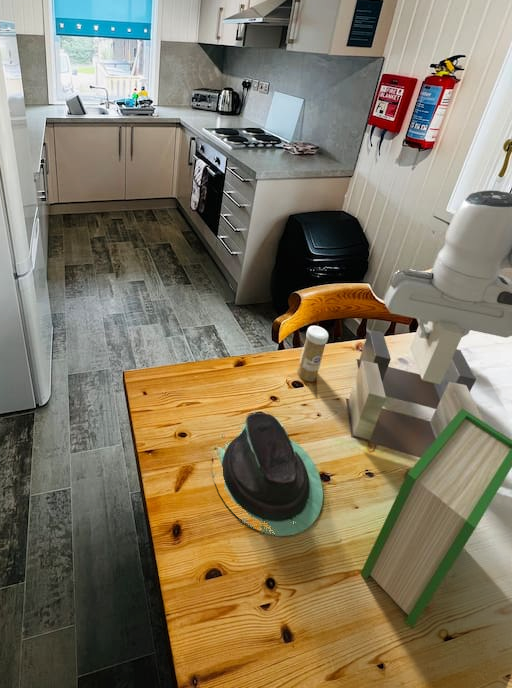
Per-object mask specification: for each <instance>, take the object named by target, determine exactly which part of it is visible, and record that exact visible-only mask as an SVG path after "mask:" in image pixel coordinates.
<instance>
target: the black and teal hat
mask: <svg viewBox="0 0 512 688" xmlns="http://www.w3.org/2000/svg"><path fill="white" fill-rule="evenodd" d="M244 423H245V425H240V426H241V427H242V428H243V429H242V428H241V429H242V433H241V432H239V434H240V435H239V436H237V437H236V438H235V439H234V440H232V442H231V443H230V442H229V443H230V444H229V443H228V445H227V444H225V445H226V446H225V447H226V448H227V449H226V450H224V449H223V450H222V448H221V447H218V446H217V447H218V450H219V451H220V452H219V453H220V455H219V454H218V455H219V456H220V457H221V459H220V458H219V457H218V456H217V454H216V453H215V454H216V457H217V458H219V459H220V460H219V461H220V462H221V465H222V467H223V477H224V480H225V481H224V482H225V486H226V487H225V488H224V490H225V489H227V491H229V493H228V494H230V496H231V498H232V499H231V500H234V502H236V504H239V505H238V506H241V507H242V509H244V510H246V512H247V513H248V514H249V515H251V517H254V518H256V519H258V520H259V521H262V522H263V523H264V521H265V523H268V524H267V525H269V526H271V527H270V528H271V530H273V531H274V533H275V534H274V533H272V532H273V531H270V532H271V534H272V535H271V534H270V532H269V530H270V529H268V528H267V531H266V527H265V529H264V526H261V528H262V530H261V531H263V530H264V531H263V532H265V533H263V532H261V533H263V534H266V535H270V536H274V535H275V537H283V536H284V537H285V536H294V535H297V534H300V533H302V532H304V531H305V530H307V529H308V528H310V527H311V526H312V525H313V524H314V522H315V521H316V520H317V518H318V517H319V514H320V513H321V510H322V507H323V501H324V489H323V484H322V480H321V476H320V473H319V470H318V468H317V466H316V464H315V462H314V460H313V459H312V458H311V457H310V455H309V454H308V452H306V451H305V450H304V448H302V447H301V445H300V444H298V443H297V442H295V441H294V440H293V439H291V438H290V437H289V434H288V433H287V430H286V428H285V426H284V425H283V424H282V422H281V421H280V420H279V419H278V418H276V417H275V416H274V415H272V414H270V413H269V414H268V413H264V412H258V411H253V413H251V414H249V415H248V416H245V421H244ZM225 434H226V433H224V434H222V436H223V437H224V435H225ZM227 442H228V441H227ZM216 452H217V451H216ZM212 455H213V454H212ZM213 456H214V455H213ZM222 457H223V458H222ZM214 473H215V474H214V475H216V472H214ZM219 473H221V472H219ZM227 491H226V492H227ZM242 519H243V518H242ZM242 519H241V520H242ZM241 520H240V521H241ZM244 520H245V518H244ZM244 520H243V521H244ZM243 521H241V522H242V523H243V524H245V522H246V520H245V521H244V522H243ZM293 521H294V524H293ZM262 522H261V523H262ZM295 522H296V523H295ZM248 523H249V522H248ZM249 525H250V524H249ZM249 525H247V526H249ZM262 525H263V524H262ZM251 526H252V524H251V525H250V526H249V527H250V528H252V527H251ZM269 526H268V527H269ZM253 527H254V526H253Z"/></svg>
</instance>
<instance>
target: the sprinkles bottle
mask: <svg viewBox="0 0 512 688" xmlns="http://www.w3.org/2000/svg"><path fill="white" fill-rule="evenodd" d="M305 337H306V338H305V340H304V345H303V348H302V351H301V354H300V359H299V365H298V368H297V370H296V372H297V375H298V377H299V378H300V379H302V380H303V381H305V382H309V383H310V382H311V383H312V382H315V381H316V380H317V376H318V373H319V369H320V366H321V364H322V359H323V355H324V351H325V348H326V344H327V343H328V340H329V332H328V331H327V330H326V329H325V328H323V327H321V326H319V325H310V326H309V327H308V328H307V330H306V334H305Z"/></svg>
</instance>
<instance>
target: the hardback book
mask: <svg viewBox="0 0 512 688" xmlns="http://www.w3.org/2000/svg"><path fill="white" fill-rule="evenodd" d="M510 470H512V438H510V437H508V436H507V435H505V434H503V433H502V432H501V431H499V430H497V429H496V428H494V427H493V426H491V425H490V424H488V423H486V422H485V421H484V422H483V421H481V420H480V419H478V418H477V417H475V416H473V415H472V414H470V413H469V412H467V411H466V410H464V409H461V410H460V411H459V412H458V414H457V415H456V416H455V417H454V418H453V420H452V421H451V422H450V423H449V424H448V426H447V427H446V428H445V429H444V430H443V432H442V433H441V434H440V435H439V436H438V438H437V439H436V440H435V441H434V442H433V444H432V445H431V446H430V447H429V448H428V450H427V451H426V452H425V453H424V454H423V456H422V457H421V458H420V457H419V459H418V460H417V461H416V463H415V464H413V466H412V467H411V468H410V470H408V472H407V474H406V475H405V478H404V480H403V482H402V484H401V486H400V489H399V491H398V493H397V494H396V497H395V499H394V501H393V503H392V506H391V508H390V510H389V511H388V514H387V516H386V518H385V519H384V520H385V521H384V523H383V525H382V526H381V529H380V531H379V533H378V535H377V537H376V539H375V542H374V544H373V546H372V548H371V550H370V552H369V554H368V555H367V556H368V557H367V559H366V561H365V563H364V565H363V567H362V569H361V571H360V573H361V574H362V575H363V576H364V577H365V578H366V579H367V580H368V578H369V577H371V578H372V579H374V581H375V582H376V583H377V584H378V585H379V587H381V589H383V590H384V592H386V593H387V595H388V596H389V597H390V598H391V599H392V600H393V601H394V602H395V603H396V604H397V605H398V606H399V607H400V609H401V610H402V611H403V612H404V613H405V614H406V615H407V617H406V618H405V620H404V622H405V621H406V622H407V623H408V624H409V626H410V627H411V628H412V629H413V627H414V626H415V624H416V623H417V621H418V620H419V618H420V616H421V615H422V614H423V612H424V611H425V609H426V607H427V606H428V604H429V602H430V601H431V600H432V598H433V596H434V595H435V593H436V591H437V589H438V588H439V587H440V585H441V583H442V582H443V581H444V579H445V577H446V576H447V574H448V572H449V571H450V569H452V566H453V565H454V563H455V561H456V560H457V558H458V557H459V555H460V553H461V552H462V551H463V549H464V547H465V546H466V544H467V543H468V541H469V540H470V538H471V536H472V535H473V533H474V532H475V531H476V528H477V527H478V525H479V523H480V521H481V520H482V519H483V517H484V515H485V513H486V512H487V510H488V509H489V506H490V505H491V503H492V501H493V500H494V499H495V496H496V495H497V493H498V492H499V490H500V488H501V487H502V484H503V483H504V481H505V480H506V478H507V476H508V475H509V473H510ZM361 574H360V575H361ZM362 575H361V576H362ZM363 576H362V577H363ZM364 577H363V578H364ZM365 578H364V579H365ZM366 579H365V580H366ZM406 622H405V623H406ZM407 623H406V624H407ZM408 624H407V625H408ZM409 626H408V627H409ZM410 627H409V628H410ZM411 628H410V629H411Z"/></svg>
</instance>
